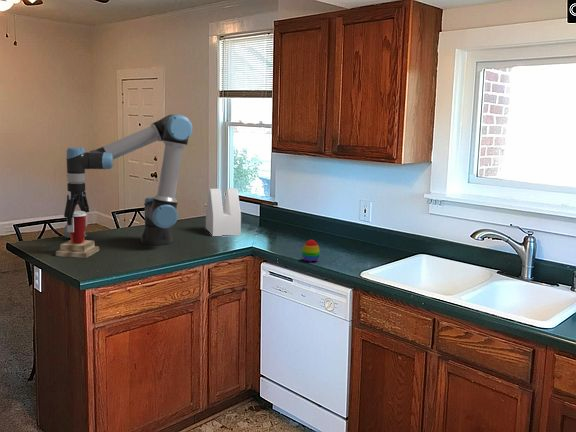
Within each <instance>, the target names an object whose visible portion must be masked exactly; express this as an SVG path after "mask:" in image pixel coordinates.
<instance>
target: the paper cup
mask: <svg viewBox="0 0 576 432" xmlns="http://www.w3.org/2000/svg"><path fill="white" fill-rule="evenodd" d="M73 218H74V232H70V233H71V239H70V240H71V243H73V244H81V243H84V241H85V240H86V239H85V238H86V237H85V234H86V226H85V219H86V213H85V212H84V211H81V210H75V211H74V214H73Z"/></svg>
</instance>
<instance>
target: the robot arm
mask: <svg viewBox="0 0 576 432" xmlns="http://www.w3.org/2000/svg"><path fill="white" fill-rule="evenodd" d="M193 129H194V128H193V124H192V122H191V120H190V119H189V118H188V117H187V116H186V115H185V116H184V115H182V114H169V115H165V116H164V117H162V118H160V119H158V120H156V121H154V122H152V123H151V124H150V126H148V127H146V128H143V129H141V130H139V131H136V132H134V133H132V134H128V135H127V136H124V137H122V138H120V139H118V140H115V141H113V142H110V143H108V144H105V145H103V146H101V147H98V148H96V149H93V150H92V149H91V150H89V151H88V152H86V151H85V148H83V147H68V148H67V149H66V176H65V177H66V178H67V179H66V181H67V182H68V183H67V184H66V185H67V186H66V187H67V188H66V189H67V192H70V194H67V195H66V202H65V203H66V204H65V208H64V215H63V217H64V218H66V225H67V232H74V218H73V214H74V211H76V208H77V205H78V207H79V210H80V211H84V212H85V213H86V219H85V228H86V227H87V226H88V213H89V212H90V207H89V203H88V199H87V195H86V183H85V182H86V170H103V171H105V170H110V169H112V168H113V166H114V160H116V159H118V158H120V157H123V156H125V155H128V154H129V153H132V152H134V151H136V150H139V149H141V148H144V147H146V146H149V145H151V144H153V143H155V142H163V144H164V151H163V157H162V162H161V163H162V164H161V169H160V174H159V175H160V176H159V183H158V187H157V193H156V195H154V196H153V197H151V196H150V197H146V198H145V199H144V204H143V205H144V228H143V231H142V234H141V238H140V242H141V244H144V245H149V246H162V245H163V246H165V245H168V244H171V243H172V240H173V239H172V238H173V237H172V235H171V232H170V228H171V227H173V226H174V225H175V224H176V223H177V221H178V218H179V214H178V210H177V209H178V208H177V207H178V203H179V202H178V200H177V198H176V195H177V189H178V183H179V176H180V171H181V166H182V158H183V154H184V150H185V149H184V148H185V147H187V146H188V143H189V138H190V137H191V135H192V133H193Z"/></svg>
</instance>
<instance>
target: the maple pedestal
mask: <svg viewBox="0 0 576 432" xmlns="http://www.w3.org/2000/svg"><path fill="white" fill-rule="evenodd" d="M59 246H60V247H59V248H60V249H58V250H56V251H55V256H56V257H63V258H65V257H67V258H83V259H86V258H89V257H90V256H93V255H94V254H96V253H97V252H99V251H100V246H97V245H95V240H89V239H88V240H87V239H85V241H84V243H81V244H73V243H71V239H70V240H66V241H64V242H63V243H61V244H59Z"/></svg>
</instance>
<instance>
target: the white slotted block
mask: <svg viewBox="0 0 576 432" xmlns="http://www.w3.org/2000/svg"><path fill="white" fill-rule="evenodd" d="M222 197H223V196H222V189H221V188H209V191H208V197H207V202H206V208H205V230H206V229H207V230H208V231H209V232H210V233H211V234H212V235H211V234H210V233H209V234H210V235H211V237H213V236H222V235H240V236H241V229H242V228H241V227H242V211H241V205H240V204H241V203H240V197H239V191H238V188H236V187H235V188H226V191H225V196H224V200H223V198H222ZM222 237H223V236H222Z"/></svg>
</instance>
